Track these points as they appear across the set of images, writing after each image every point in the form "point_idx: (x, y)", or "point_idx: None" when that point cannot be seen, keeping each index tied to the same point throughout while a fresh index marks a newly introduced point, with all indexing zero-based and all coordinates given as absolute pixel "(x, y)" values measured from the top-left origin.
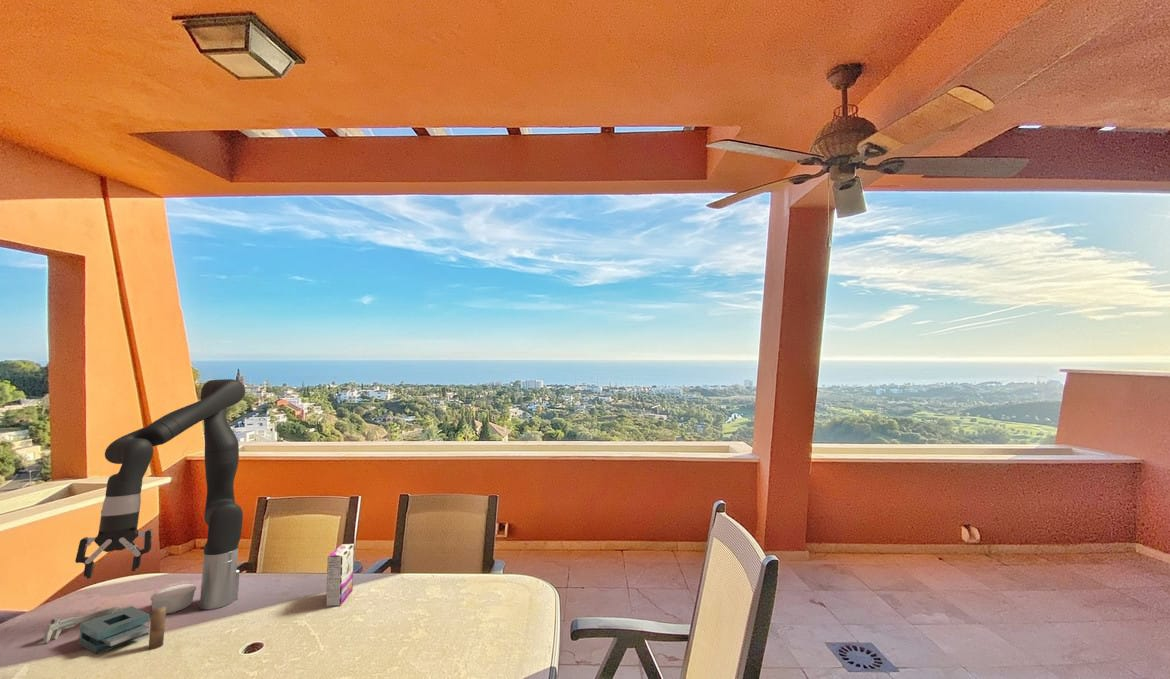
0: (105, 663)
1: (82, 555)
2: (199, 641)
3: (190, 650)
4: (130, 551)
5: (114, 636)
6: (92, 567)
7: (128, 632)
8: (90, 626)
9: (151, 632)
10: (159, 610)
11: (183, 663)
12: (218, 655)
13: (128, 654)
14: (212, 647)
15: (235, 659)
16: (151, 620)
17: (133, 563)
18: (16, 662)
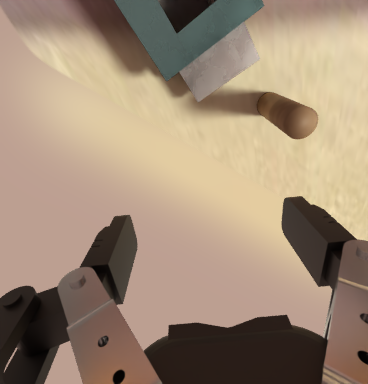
0: (199, 130)
1: (42, 382)
2: (336, 127)
3: (318, 156)
4: (323, 336)
5: (195, 67)
6: (124, 267)
7: (220, 59)
8: (128, 10)
9: (270, 121)
10: (302, 134)
11: (305, 193)
12: (349, 194)
13: (227, 114)
14: (348, 164)
15: (364, 216)
16: (278, 126)
17: (303, 258)
18: (20, 21)
